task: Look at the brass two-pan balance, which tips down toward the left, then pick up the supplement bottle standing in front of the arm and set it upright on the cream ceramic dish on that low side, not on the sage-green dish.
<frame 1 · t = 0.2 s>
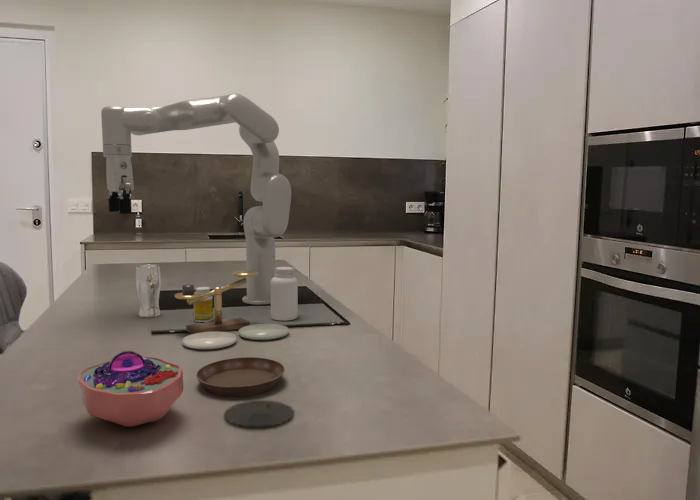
hand: (120, 212, 171), 31 cm above the counter, tool pointing down, fingers open, 9 cm apart
brass balance: (218, 328, 164), on the counter
supplement bottle: (203, 321, 173), on the counter
sage dish: (263, 334, 158), on the counter
cell model: (133, 420, 104), on the counter
cream dish: (209, 343, 150), on the counter
plant saucer: (241, 385, 122), on the counter
pill bottle: (284, 318, 177), on the counter
beer glass: (149, 316, 179), on the counter
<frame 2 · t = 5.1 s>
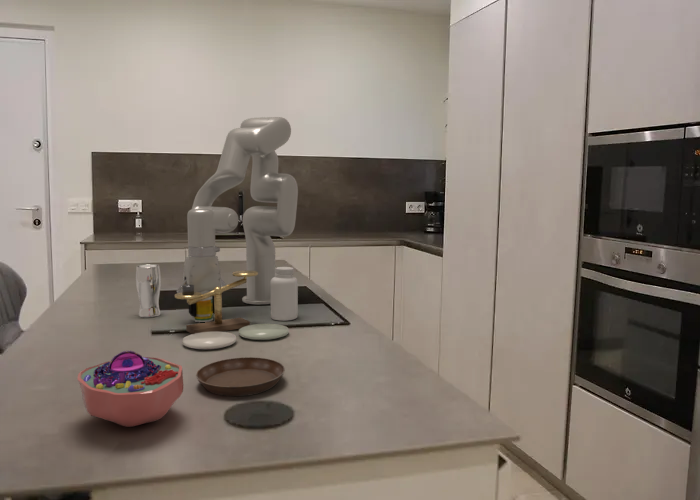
hand: (203, 313, 173), 2 cm above the counter, tool pointing down, fingers closed on supplement bottle, 5 cm apart
supplement bottle: (203, 321, 173), on the counter, touching gripper
everything else where it was.
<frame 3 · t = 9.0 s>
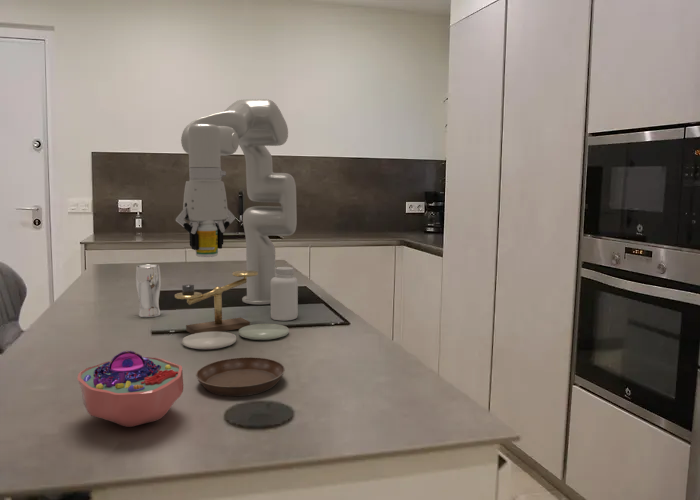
hand: (206, 248, 149), 24 cm above the counter, tool pointing down, fingers closed on supplement bottle, 5 cm apart
supplement bottle: (206, 256, 149), point 22 cm above the counter, touching gripper
everything else where it was.
when the fingers open (5 cm above the counter, at t = 13.2 s): supplement bottle drops 2 cm, resting on cream dish.
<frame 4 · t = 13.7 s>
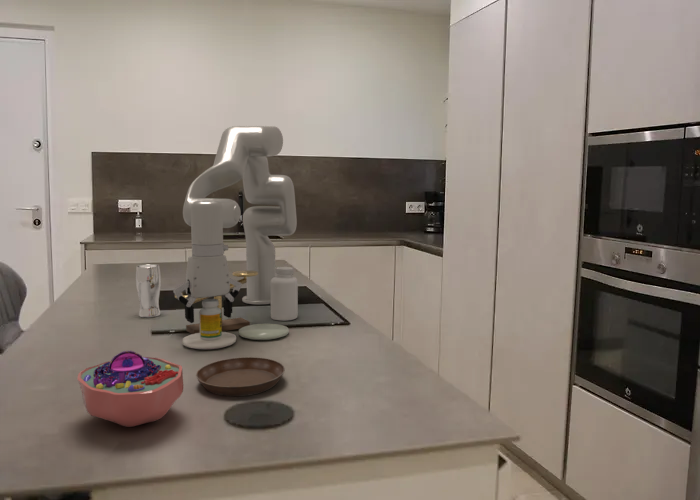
hand: (209, 319, 149), 6 cm above the counter, tool pointing down, fingers open, 9 cm apart
supplement bottle: (210, 338, 150), point 1 cm above the counter, touching cream dish
everything else where it was.
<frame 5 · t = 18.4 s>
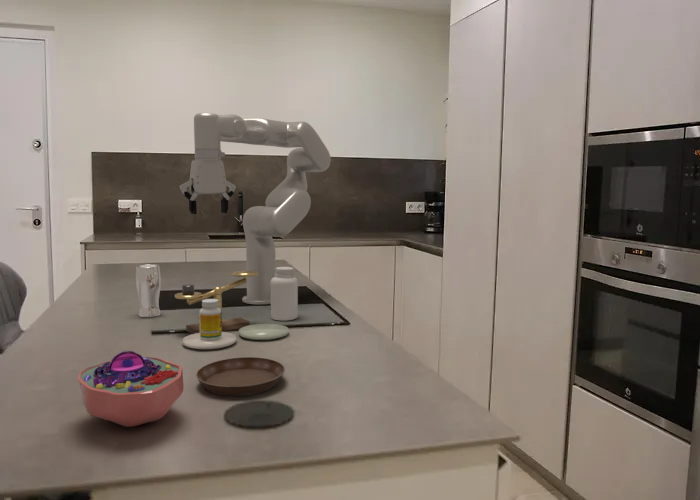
hand: (209, 213, 180), 30 cm above the counter, tool pointing down, fingers open, 9 cm apart
nothing on the counter moved.
at the end: supplement bottle inside the target area on the cream dish (0.4 cm from its centre), point 1.2 cm above the cream dish's base; supplement bottle tilted 0°; the gripper is holding nothing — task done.
